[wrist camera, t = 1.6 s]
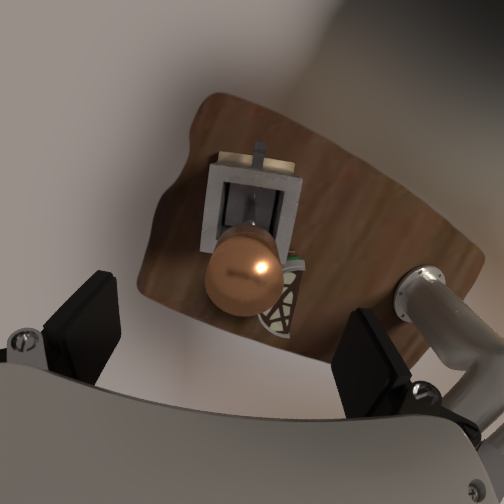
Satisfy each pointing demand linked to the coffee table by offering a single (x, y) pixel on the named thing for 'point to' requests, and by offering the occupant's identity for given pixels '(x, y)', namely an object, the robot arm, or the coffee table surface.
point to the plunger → (246, 255)
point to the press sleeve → (254, 176)
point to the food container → (285, 298)
